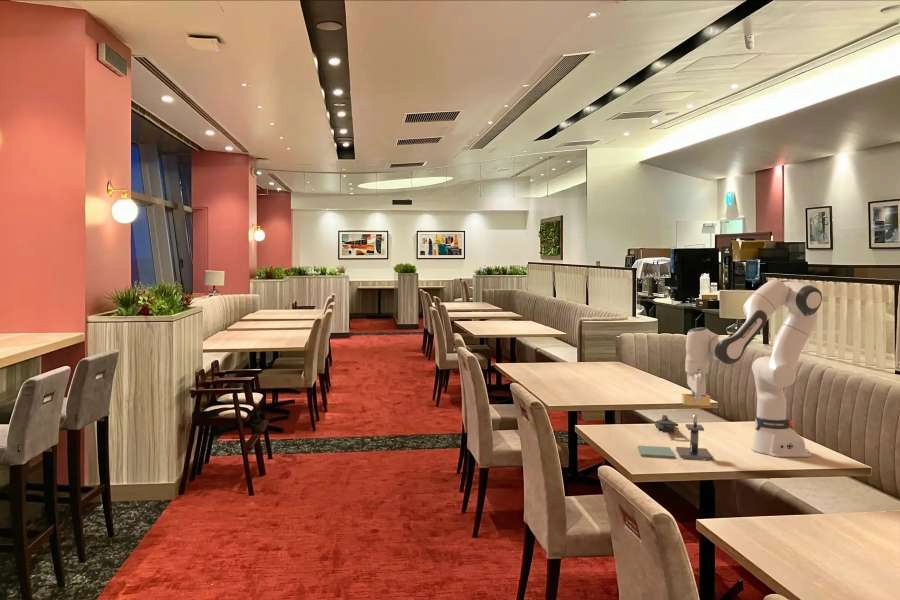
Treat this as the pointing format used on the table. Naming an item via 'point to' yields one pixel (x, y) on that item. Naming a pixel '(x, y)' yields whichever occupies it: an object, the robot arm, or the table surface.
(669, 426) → the zipper pull
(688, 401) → the wooden rectangular frame
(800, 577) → the table surface
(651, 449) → the rubber mat
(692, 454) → the pin stand
